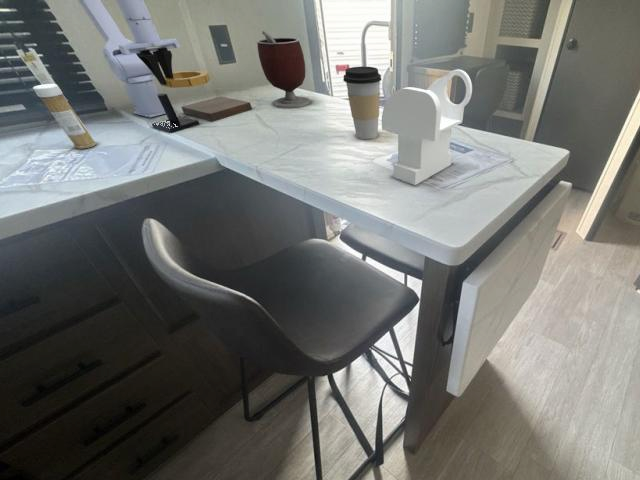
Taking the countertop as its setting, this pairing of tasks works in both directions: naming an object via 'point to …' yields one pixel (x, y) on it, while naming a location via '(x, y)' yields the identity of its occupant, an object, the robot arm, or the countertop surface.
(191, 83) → the orange ring
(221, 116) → the coaster
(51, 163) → the countertop surface
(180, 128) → the peg stand
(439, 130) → the tape dispenser
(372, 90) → the coffee cup
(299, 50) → the mate gourd
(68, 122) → the sprinkles bottle
